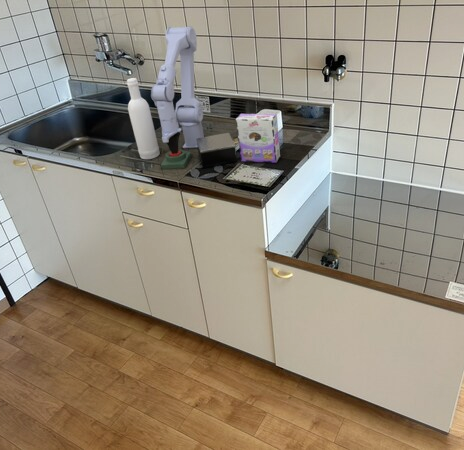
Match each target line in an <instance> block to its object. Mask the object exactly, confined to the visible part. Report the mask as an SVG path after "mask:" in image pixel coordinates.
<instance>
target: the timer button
mask: <svg viewBox="0 0 464 450" xmlns="http://www.w3.org/2000/svg"><path fill="white" fill-rule="evenodd" d="M169 155H170V156H171V157H174V156H179V155H181V151H179V150H178V153H174V154H172V153H171V152H170V153H169Z"/></svg>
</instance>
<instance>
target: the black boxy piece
mask: <svg viewBox="0 0 464 450" xmlns="http://www.w3.org/2000/svg"><path fill="white" fill-rule="evenodd" d="M196 141H197V140H196ZM197 146H198V143H197ZM197 151H198V156H199V160H200V163H201V166H202V169H203V170H204V169H209V168H214V167H219V166H220V167H221V166H224V165H229V164H235V163H238V159H237V151H236V146H235V147H233V148H227V149H222V150H216V151H211V152H206V153H200V150H199V147H198V148H197Z"/></svg>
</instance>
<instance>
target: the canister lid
mask: <svg viewBox="0 0 464 450" xmlns="http://www.w3.org/2000/svg"><path fill="white" fill-rule="evenodd" d="M196 140H197V143H198V147H199V150H200V153H206V152H211V151H216V150H222V149H227V148H233V147H235V148H236V143H235V142H234V140H233V138H232V136H231V133H230V132H225V133H219V134H213V135H208V136H204V137H202V138H196Z"/></svg>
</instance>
